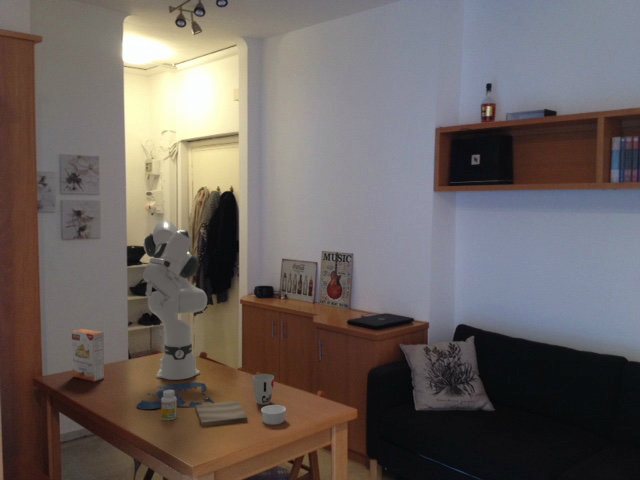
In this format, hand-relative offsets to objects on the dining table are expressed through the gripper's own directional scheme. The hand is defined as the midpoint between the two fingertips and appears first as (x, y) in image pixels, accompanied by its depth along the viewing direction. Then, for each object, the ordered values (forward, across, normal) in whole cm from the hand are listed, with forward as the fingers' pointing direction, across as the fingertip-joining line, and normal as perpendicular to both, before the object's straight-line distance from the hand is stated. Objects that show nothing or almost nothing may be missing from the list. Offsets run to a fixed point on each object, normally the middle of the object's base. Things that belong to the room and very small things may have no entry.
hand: (154, 301), depth 223 cm
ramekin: (+30, -24, +52) cm, 64 cm away
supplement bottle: (+38, -13, +17) cm, 44 cm away
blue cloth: (+28, -31, +3) cm, 41 cm away
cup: (+21, -37, +39) cm, 58 cm away
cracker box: (+27, -34, -46) cm, 64 cm away
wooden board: (+32, -21, +32) cm, 50 cm away
